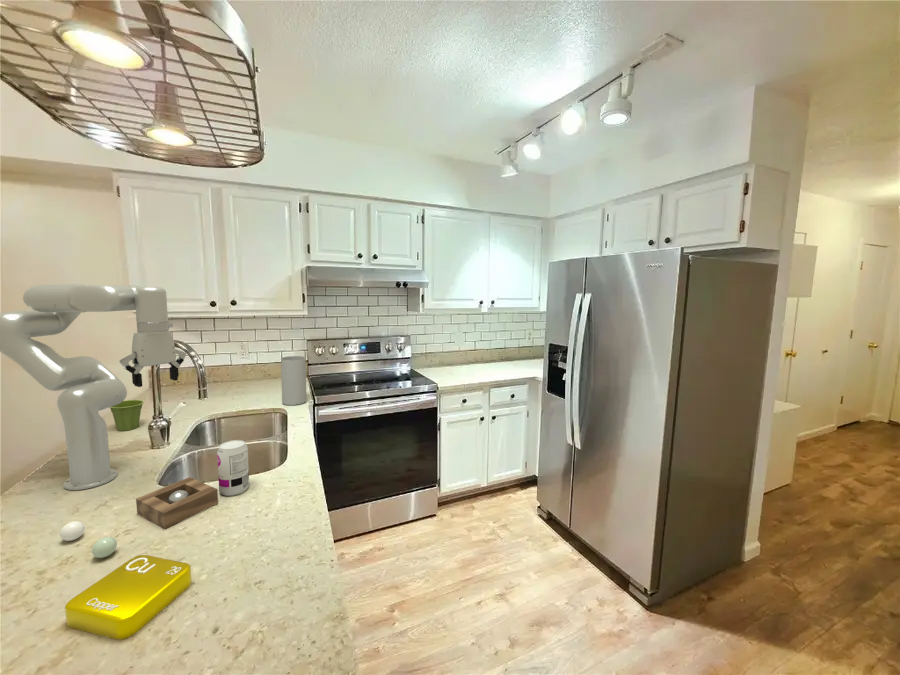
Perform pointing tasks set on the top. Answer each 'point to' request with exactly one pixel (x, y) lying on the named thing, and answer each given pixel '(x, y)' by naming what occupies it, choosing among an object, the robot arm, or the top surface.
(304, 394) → the cylinder vase
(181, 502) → the frame
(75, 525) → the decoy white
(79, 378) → the robot arm
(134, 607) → the element tile
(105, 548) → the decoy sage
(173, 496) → the steel ball
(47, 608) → the top surface
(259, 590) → the top surface
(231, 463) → the supplement can
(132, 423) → the plant pot
